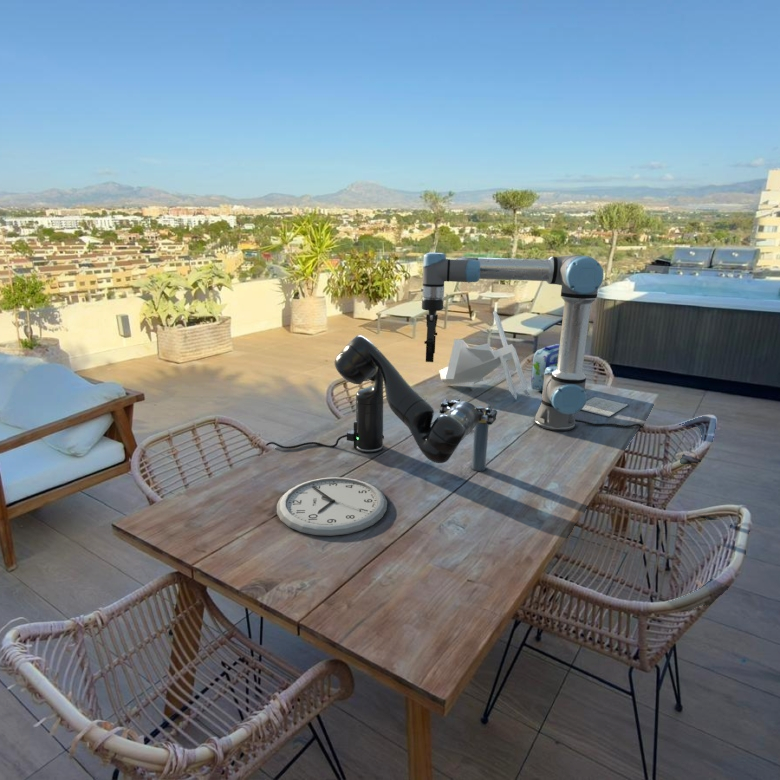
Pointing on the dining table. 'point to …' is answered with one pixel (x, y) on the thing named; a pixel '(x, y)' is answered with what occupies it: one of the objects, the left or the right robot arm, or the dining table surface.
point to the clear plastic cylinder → (480, 446)
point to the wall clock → (331, 506)
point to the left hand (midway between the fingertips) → (473, 405)
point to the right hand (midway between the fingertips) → (430, 357)
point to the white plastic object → (482, 362)
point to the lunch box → (543, 364)
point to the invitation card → (603, 406)
